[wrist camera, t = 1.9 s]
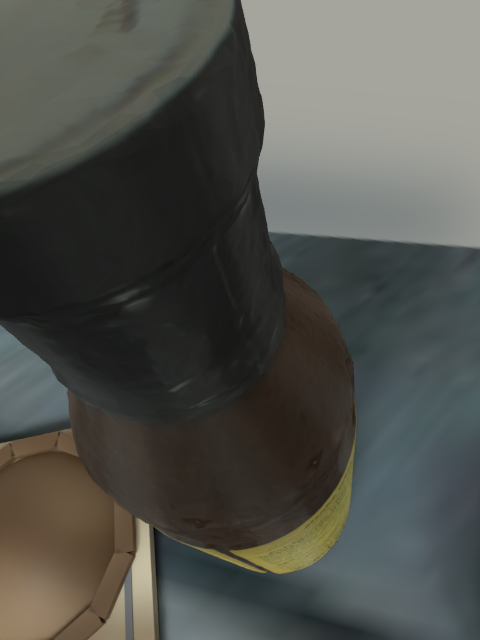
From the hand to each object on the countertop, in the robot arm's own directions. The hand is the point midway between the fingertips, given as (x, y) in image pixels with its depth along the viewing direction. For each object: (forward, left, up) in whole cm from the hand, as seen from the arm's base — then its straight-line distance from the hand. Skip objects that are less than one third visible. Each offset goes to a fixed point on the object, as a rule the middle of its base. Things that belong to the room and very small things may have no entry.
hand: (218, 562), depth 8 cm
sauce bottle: (+3, -1, -13) cm, 13 cm away
